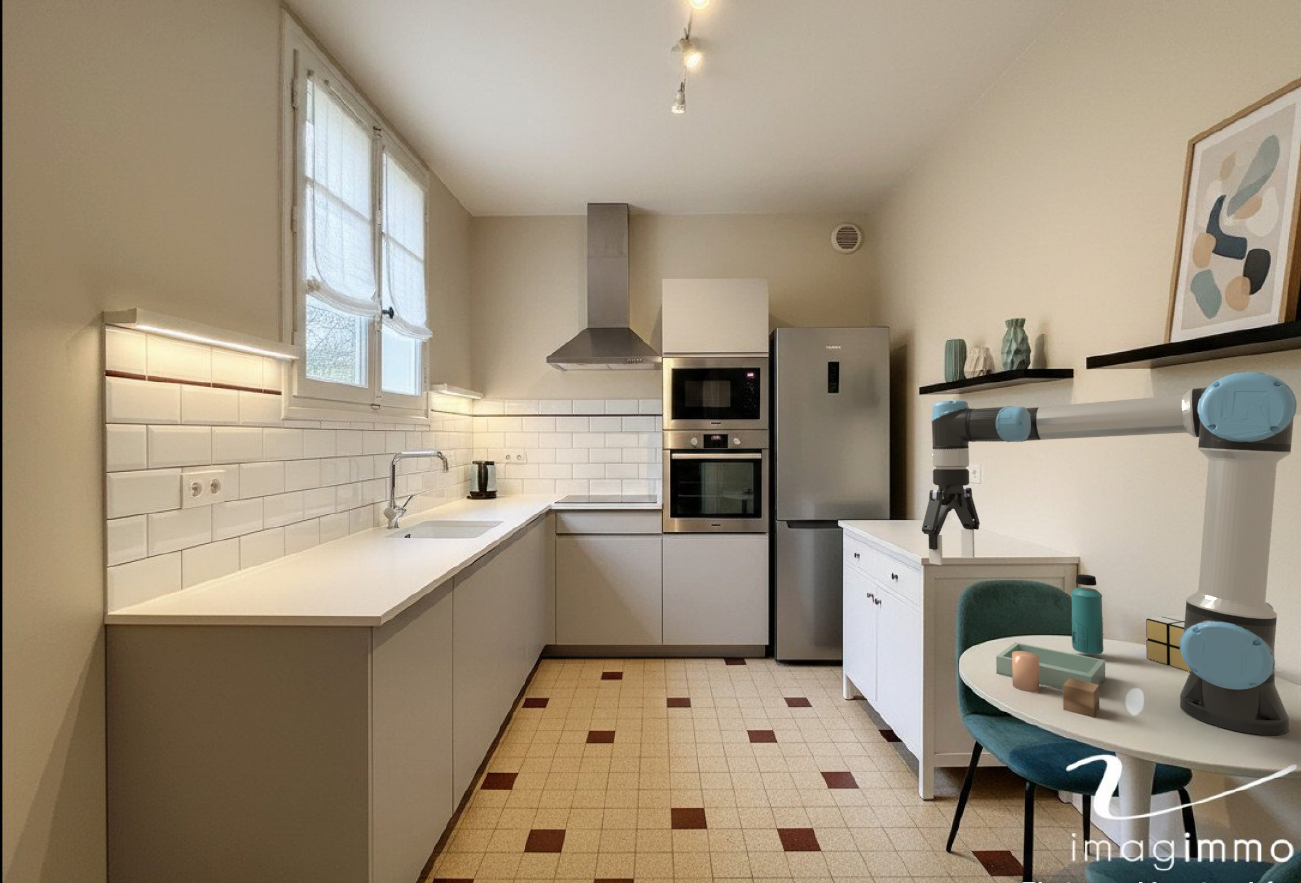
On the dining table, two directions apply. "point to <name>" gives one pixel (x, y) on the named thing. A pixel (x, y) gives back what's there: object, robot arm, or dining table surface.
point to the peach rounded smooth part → (1025, 671)
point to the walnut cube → (1081, 697)
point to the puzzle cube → (1165, 640)
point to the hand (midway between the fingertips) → (952, 560)
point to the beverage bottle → (1087, 617)
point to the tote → (1055, 665)
